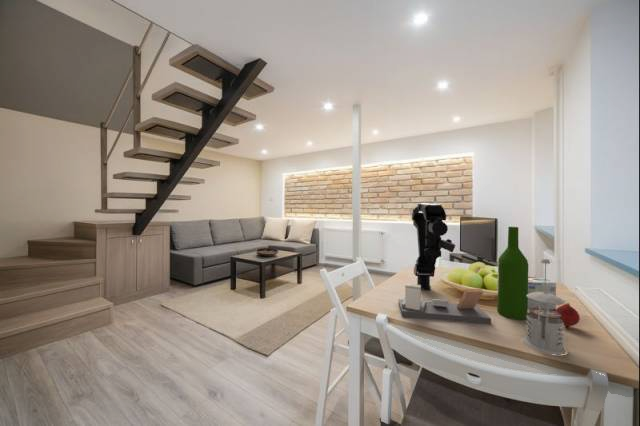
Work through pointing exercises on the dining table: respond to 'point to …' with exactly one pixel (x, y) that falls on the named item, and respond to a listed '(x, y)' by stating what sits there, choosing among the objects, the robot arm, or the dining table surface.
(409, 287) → the slider button
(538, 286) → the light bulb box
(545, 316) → the french press
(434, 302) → the rocker switch
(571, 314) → the onion
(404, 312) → the control console
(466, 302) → the tan rectangular board
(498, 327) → the dining table surface
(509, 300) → the wine bottle
